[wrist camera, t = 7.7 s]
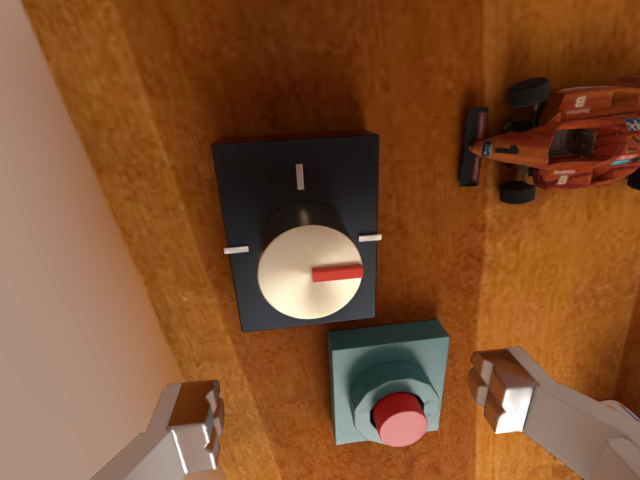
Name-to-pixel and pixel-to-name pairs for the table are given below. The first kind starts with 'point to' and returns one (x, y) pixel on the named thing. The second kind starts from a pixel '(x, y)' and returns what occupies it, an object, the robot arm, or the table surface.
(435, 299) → the table surface
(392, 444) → the button
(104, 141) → the table surface
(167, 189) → the table surface
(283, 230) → the holder dial
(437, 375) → the button housing
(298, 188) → the holder console
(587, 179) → the toy car
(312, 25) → the table surface
